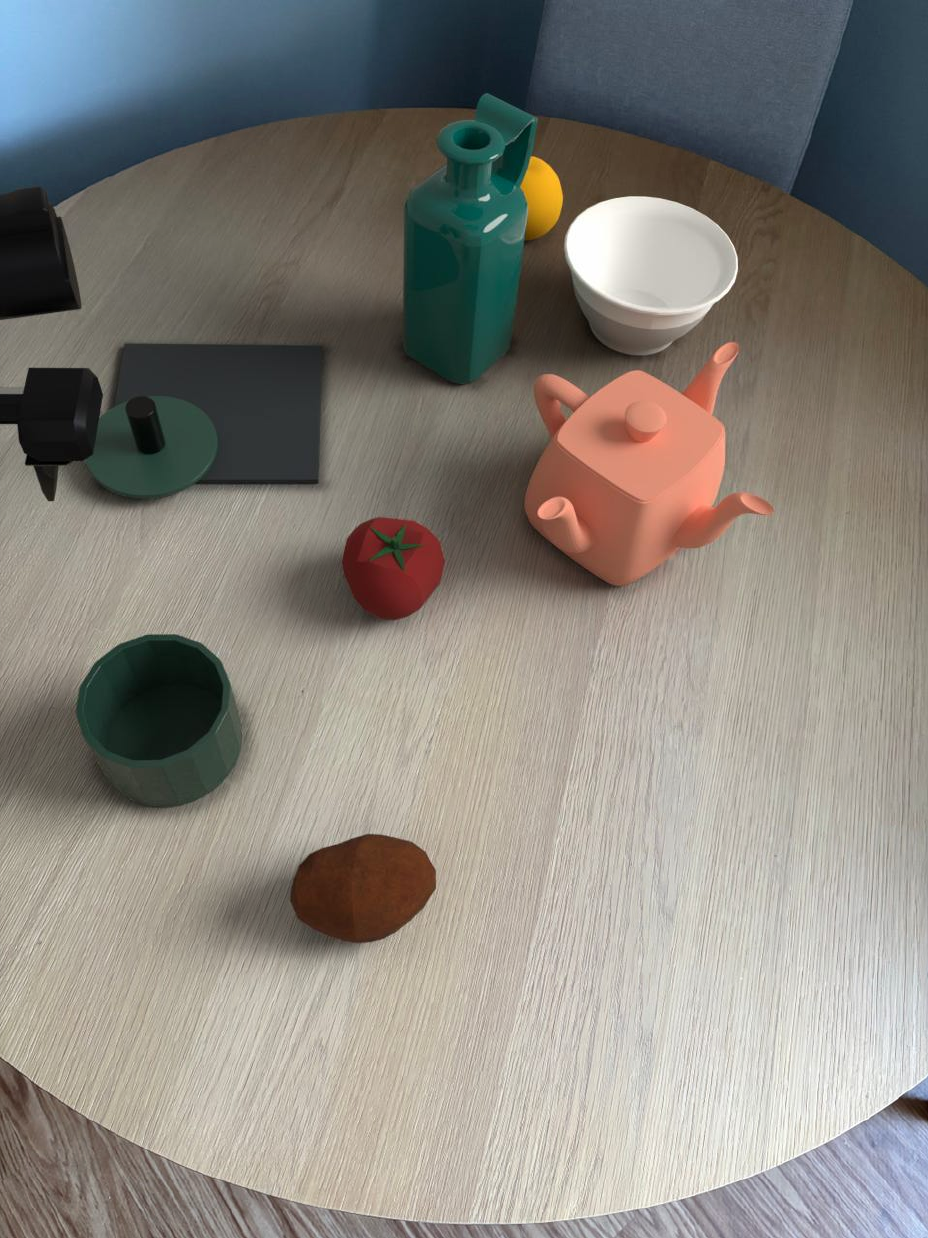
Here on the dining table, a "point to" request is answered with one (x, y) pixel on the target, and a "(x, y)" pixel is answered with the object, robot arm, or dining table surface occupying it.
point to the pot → (633, 471)
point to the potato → (362, 887)
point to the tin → (160, 719)
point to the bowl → (647, 270)
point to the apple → (541, 198)
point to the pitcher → (467, 243)
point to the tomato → (392, 566)
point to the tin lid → (152, 447)
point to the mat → (240, 403)
